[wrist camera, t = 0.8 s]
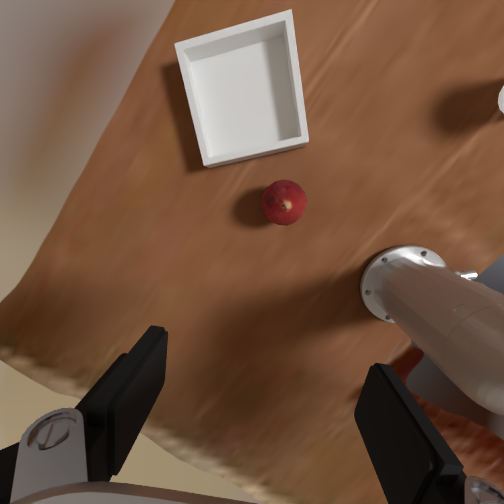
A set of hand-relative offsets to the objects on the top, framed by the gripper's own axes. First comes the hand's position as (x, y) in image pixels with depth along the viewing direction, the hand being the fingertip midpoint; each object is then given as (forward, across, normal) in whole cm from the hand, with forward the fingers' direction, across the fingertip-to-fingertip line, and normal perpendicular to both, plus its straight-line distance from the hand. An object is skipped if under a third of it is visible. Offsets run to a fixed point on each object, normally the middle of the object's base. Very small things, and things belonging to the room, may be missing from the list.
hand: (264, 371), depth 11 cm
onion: (+26, -2, -6) cm, 27 cm away
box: (+26, +6, -18) cm, 33 cm away
